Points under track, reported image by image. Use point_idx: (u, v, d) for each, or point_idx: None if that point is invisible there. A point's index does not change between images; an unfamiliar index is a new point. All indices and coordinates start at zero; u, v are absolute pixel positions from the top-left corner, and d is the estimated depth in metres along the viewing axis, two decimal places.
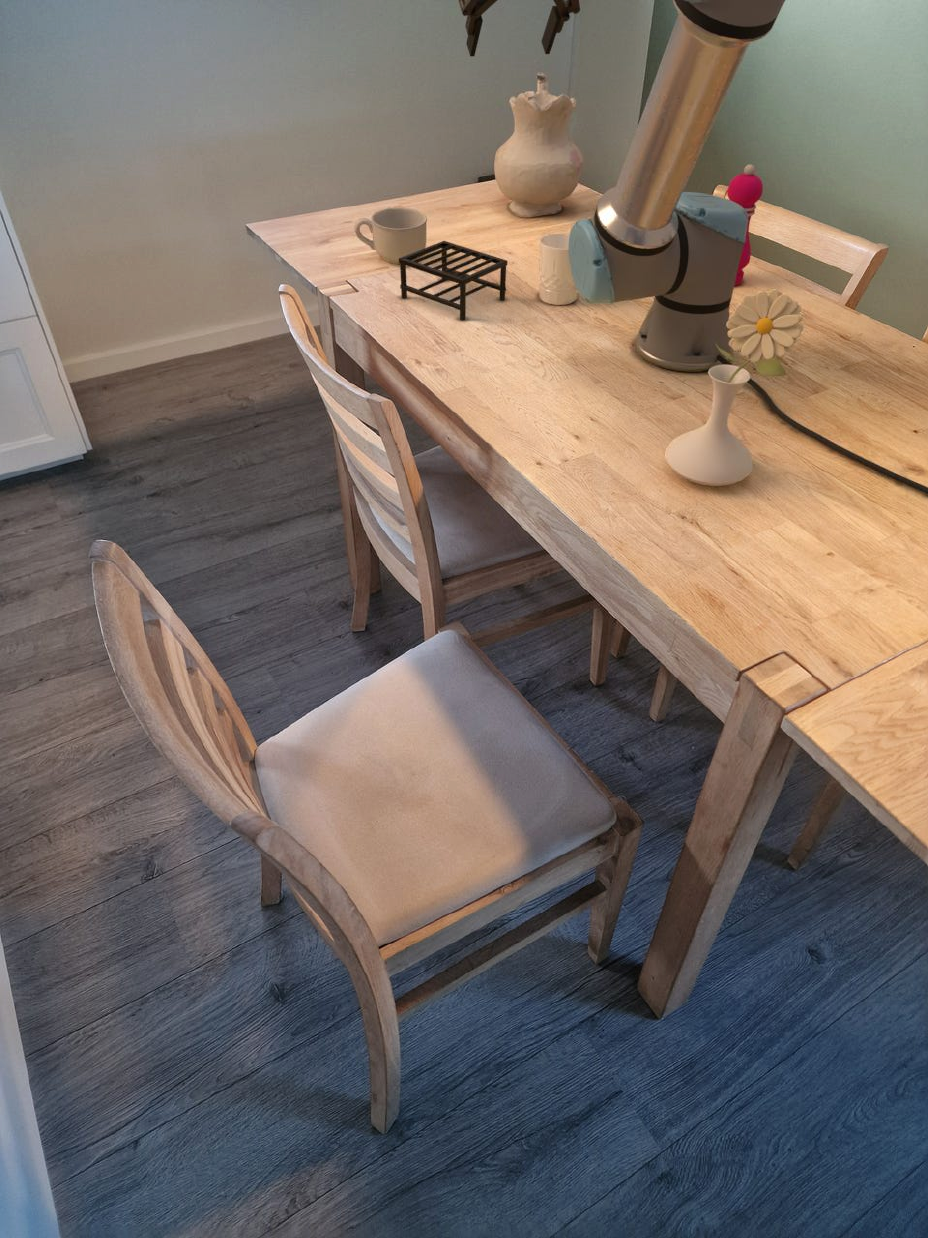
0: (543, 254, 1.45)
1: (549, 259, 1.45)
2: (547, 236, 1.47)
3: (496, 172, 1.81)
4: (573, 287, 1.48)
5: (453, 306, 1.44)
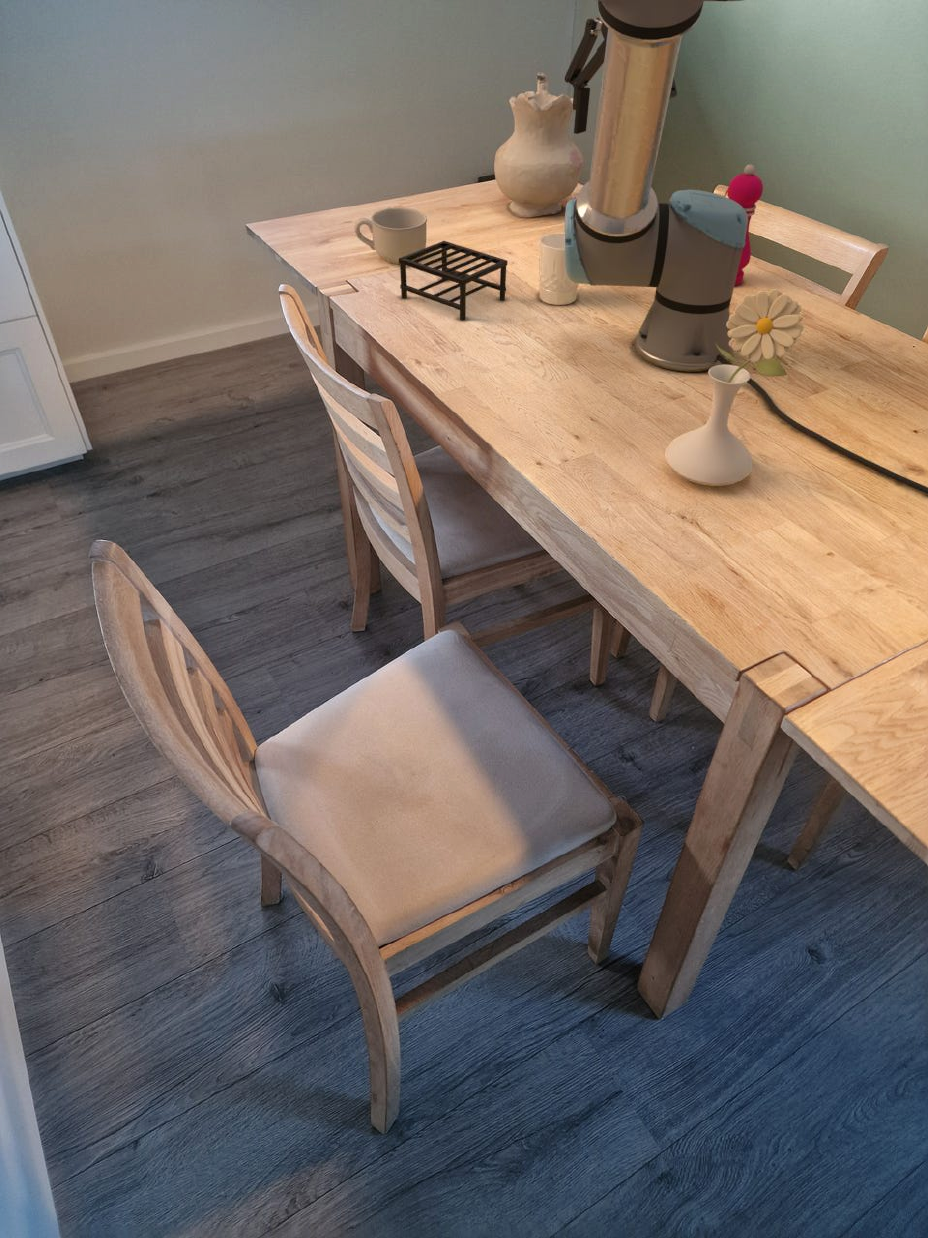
0: (543, 254, 1.45)
1: (549, 259, 1.45)
2: (547, 236, 1.47)
3: (496, 172, 1.81)
4: (573, 287, 1.48)
5: (453, 306, 1.44)
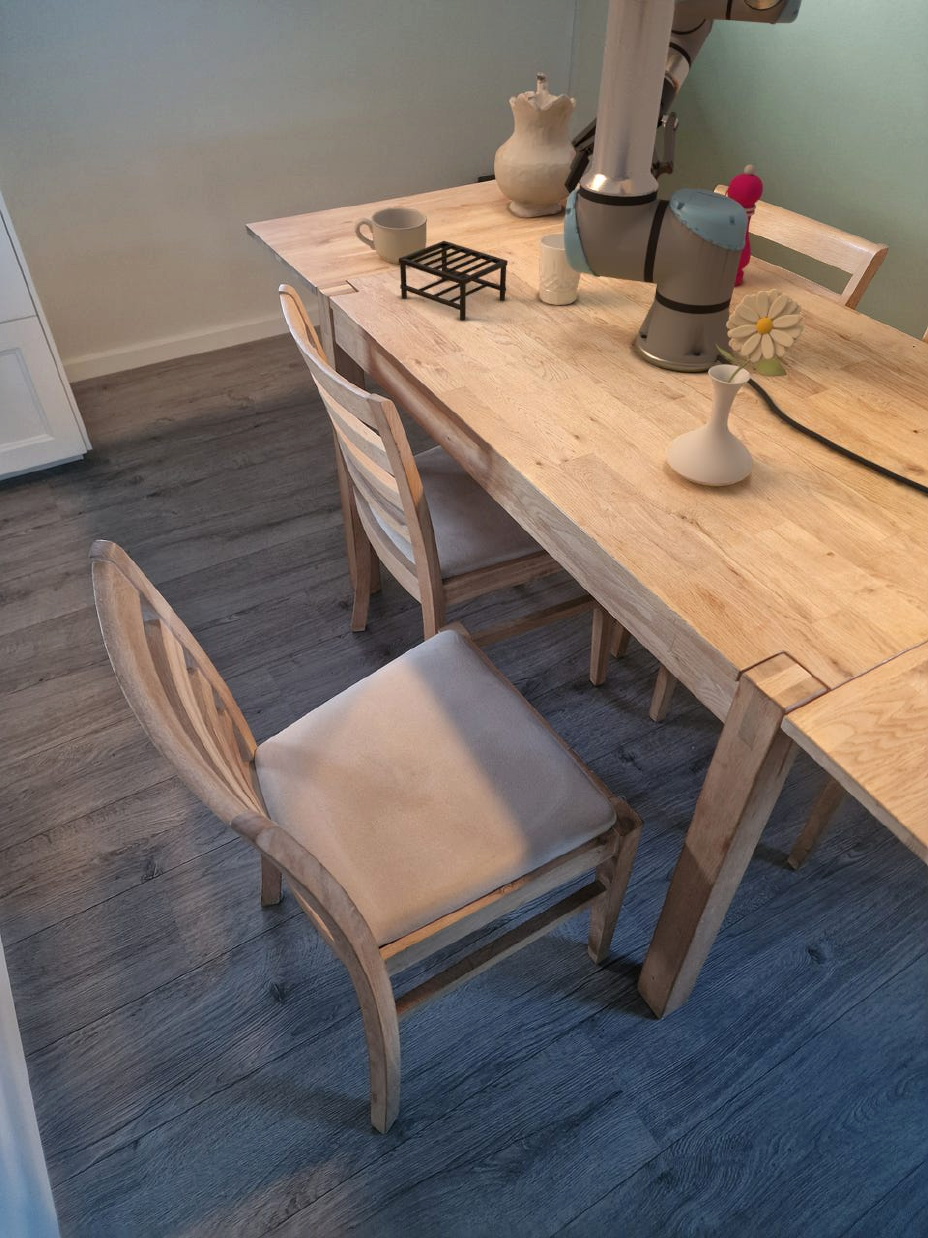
0: (543, 254, 1.45)
1: (549, 259, 1.45)
2: (547, 236, 1.47)
3: (496, 172, 1.81)
4: (573, 287, 1.48)
5: (453, 306, 1.44)
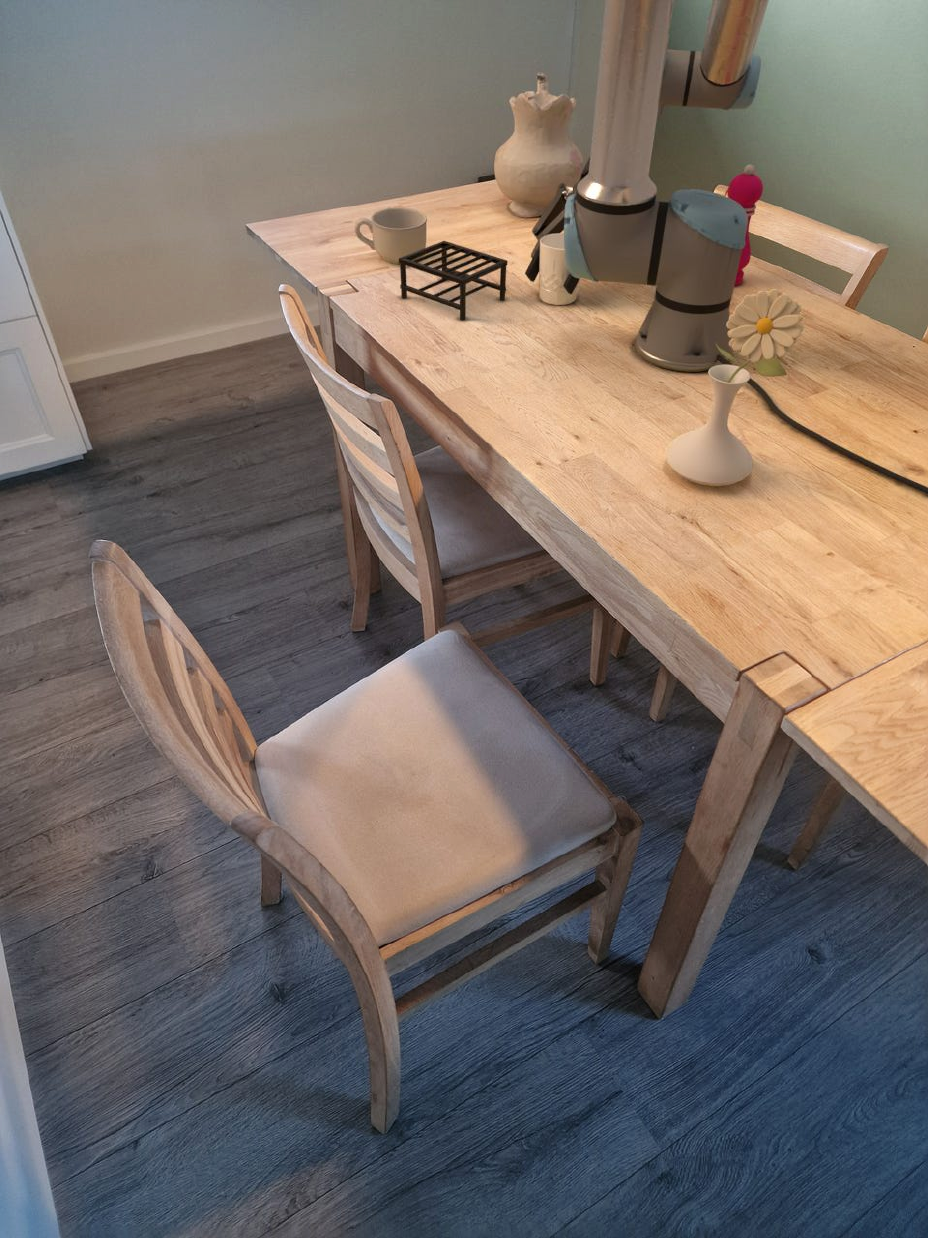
0: (543, 254, 1.45)
1: (549, 259, 1.45)
2: (547, 236, 1.47)
3: (496, 172, 1.81)
4: None
5: (453, 306, 1.44)
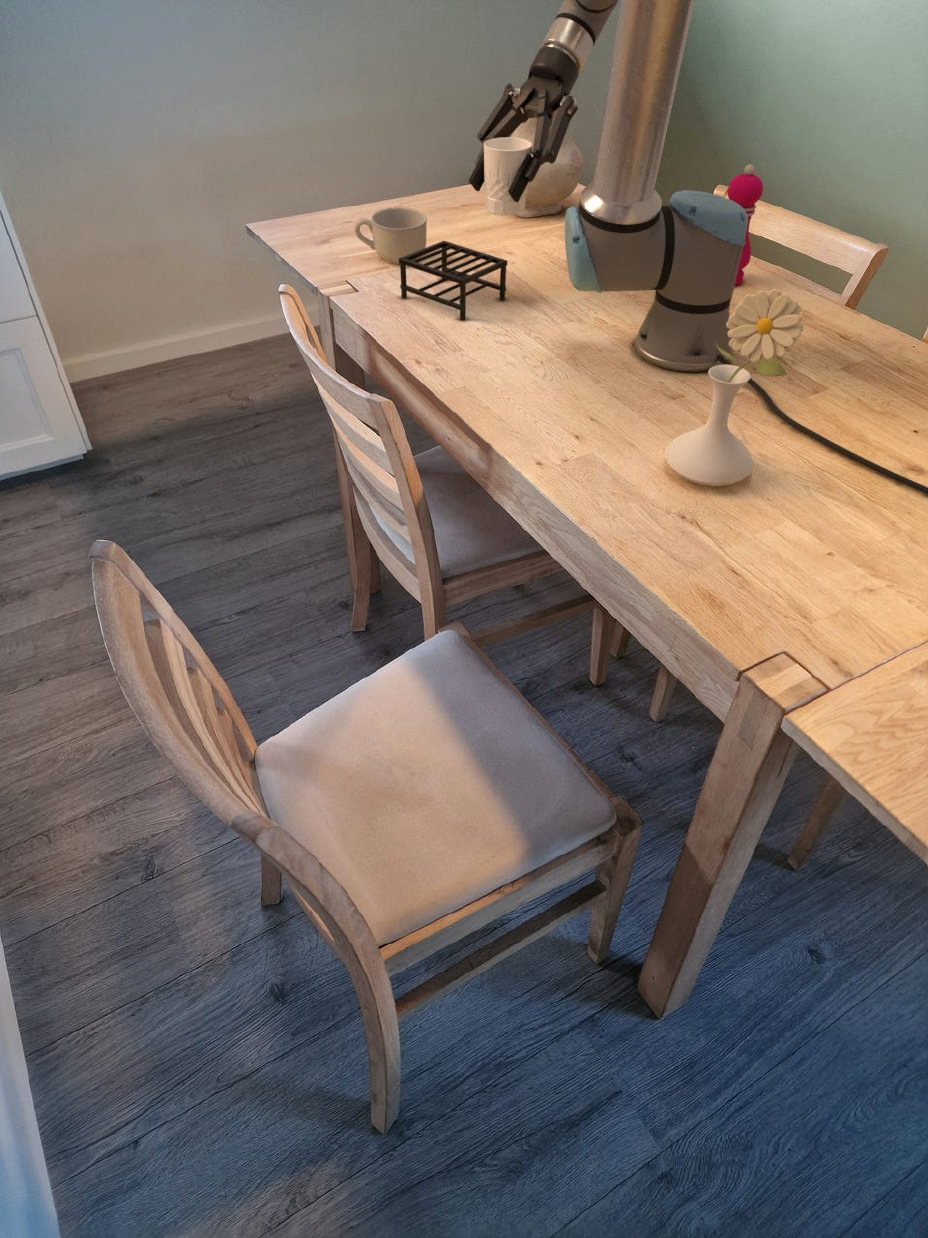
0: (487, 158, 1.35)
1: (493, 162, 1.34)
2: (492, 140, 1.37)
3: None
4: None
5: (453, 306, 1.44)
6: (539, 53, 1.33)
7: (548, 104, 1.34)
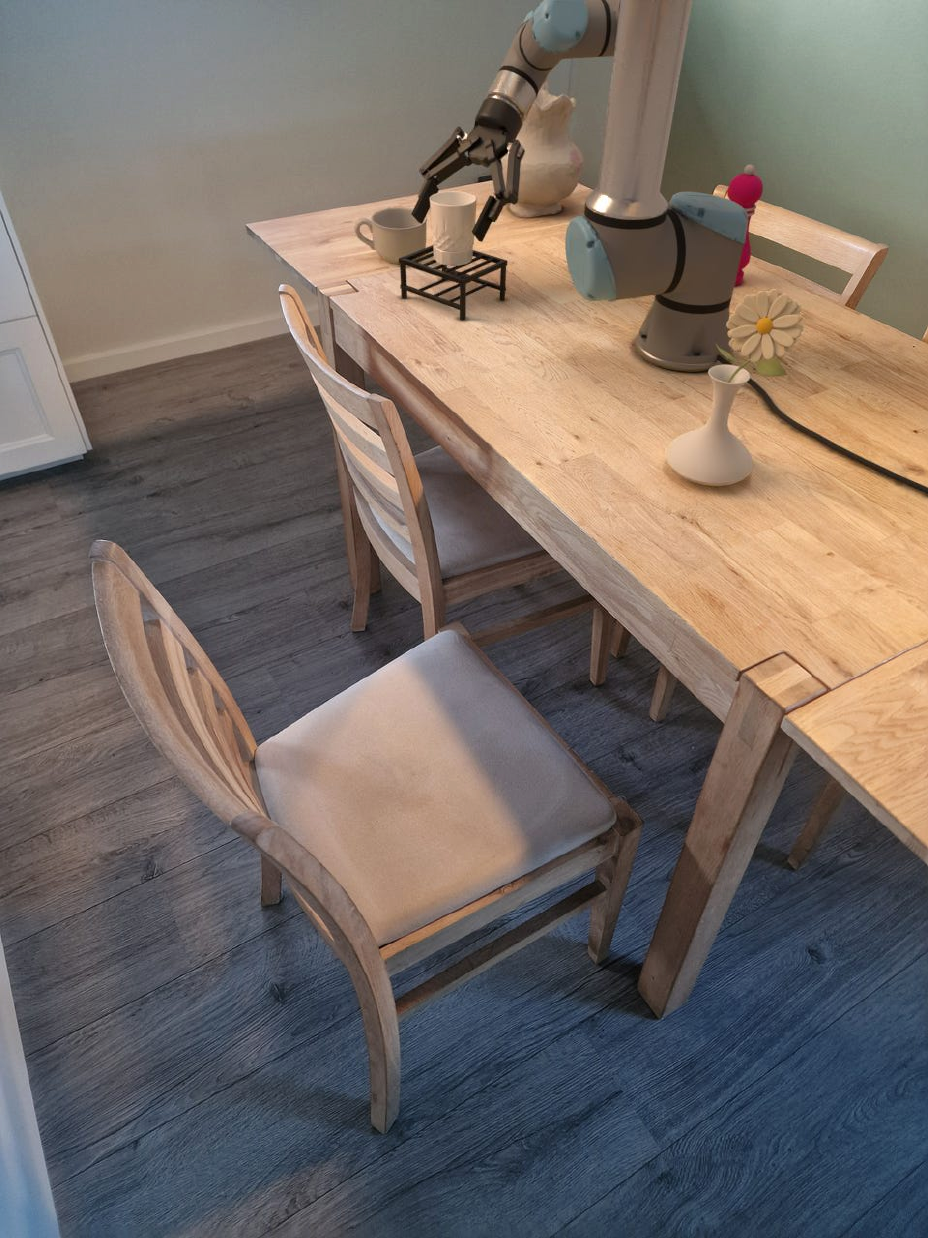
0: (433, 212, 1.40)
1: (438, 216, 1.39)
2: (439, 194, 1.42)
3: None
4: (466, 247, 1.43)
5: (453, 306, 1.44)
6: (483, 104, 1.38)
7: None
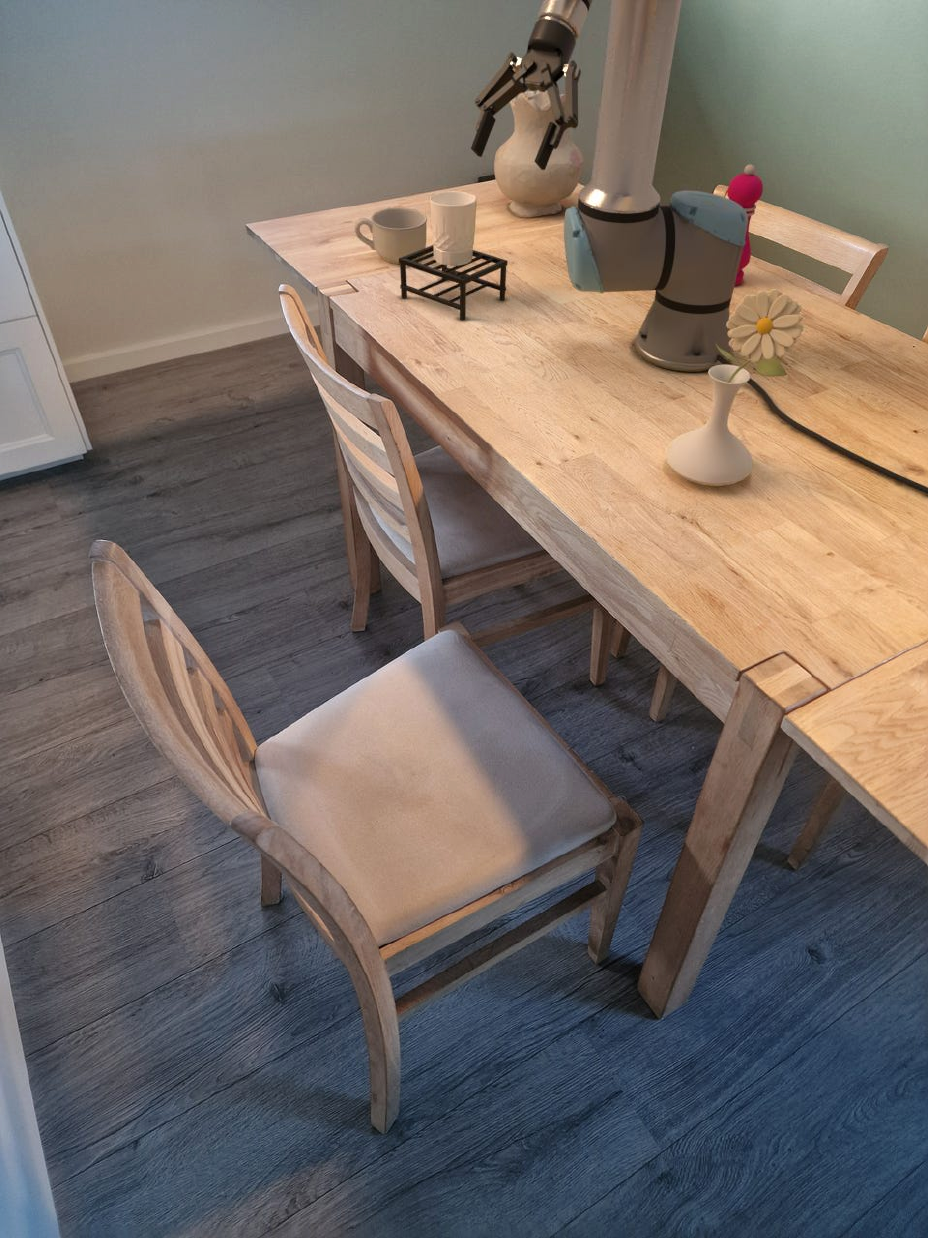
0: (433, 212, 1.40)
1: (438, 216, 1.39)
2: (439, 194, 1.42)
3: (496, 172, 1.81)
4: (466, 247, 1.43)
5: (453, 306, 1.44)
6: (536, 26, 1.37)
7: None
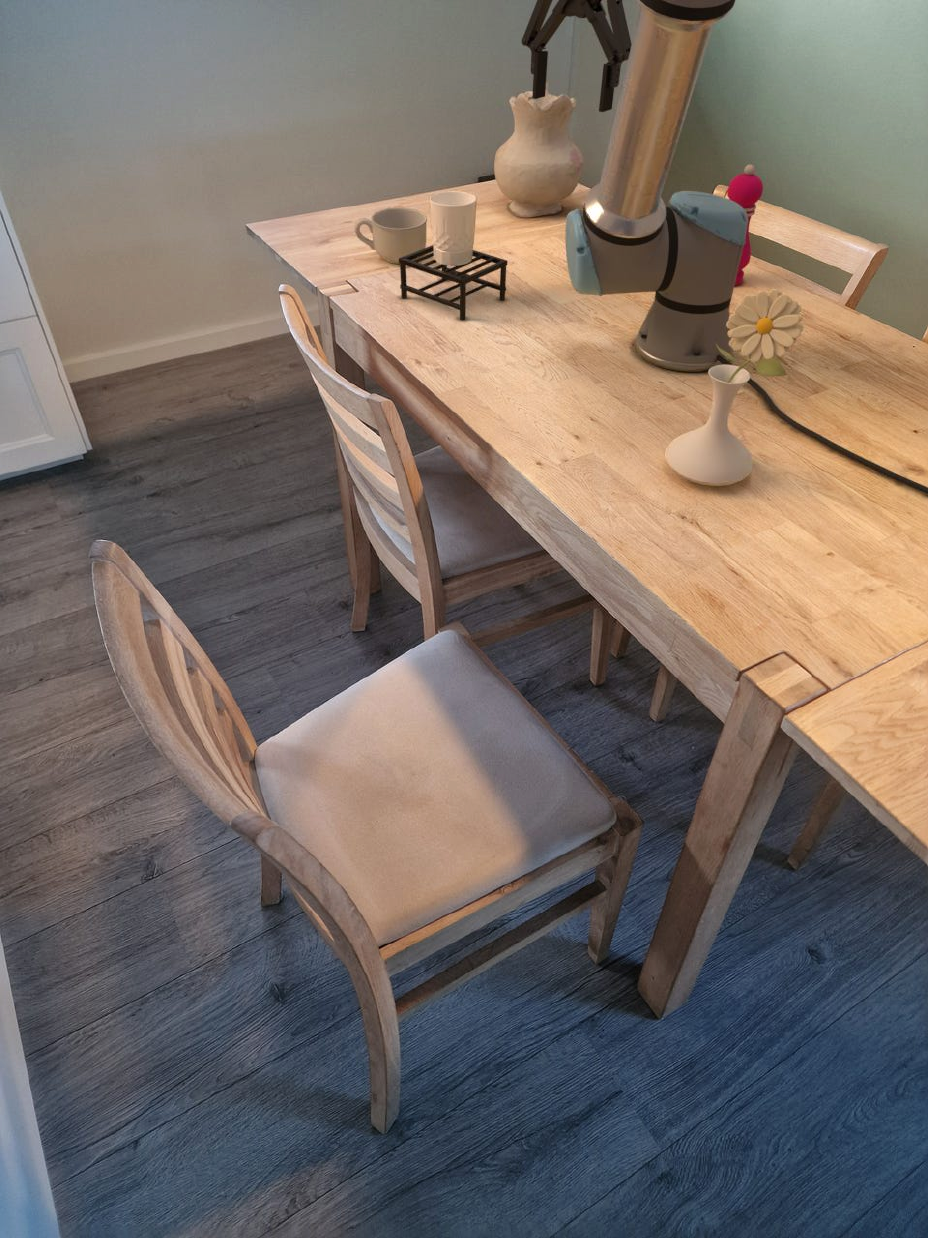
0: (433, 212, 1.40)
1: (438, 216, 1.39)
2: (439, 194, 1.42)
3: (496, 172, 1.81)
4: (466, 247, 1.43)
5: (453, 306, 1.44)
6: None
7: (590, 6, 1.29)
